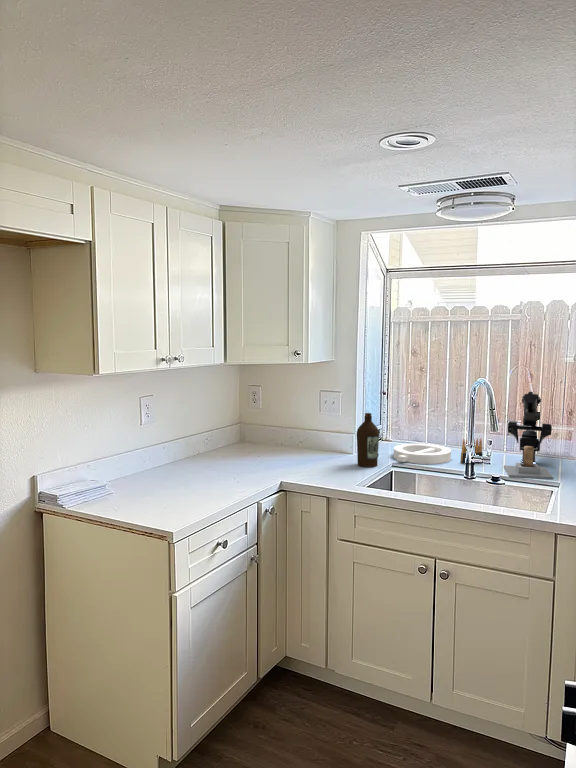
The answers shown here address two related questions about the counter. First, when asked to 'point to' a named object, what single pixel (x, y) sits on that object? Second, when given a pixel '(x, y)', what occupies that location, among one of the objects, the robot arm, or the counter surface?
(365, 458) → the olive oil
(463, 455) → the ammunition clip
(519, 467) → the holder
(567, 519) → the counter surface
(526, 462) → the walnut pin
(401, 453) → the ring with crossbar
